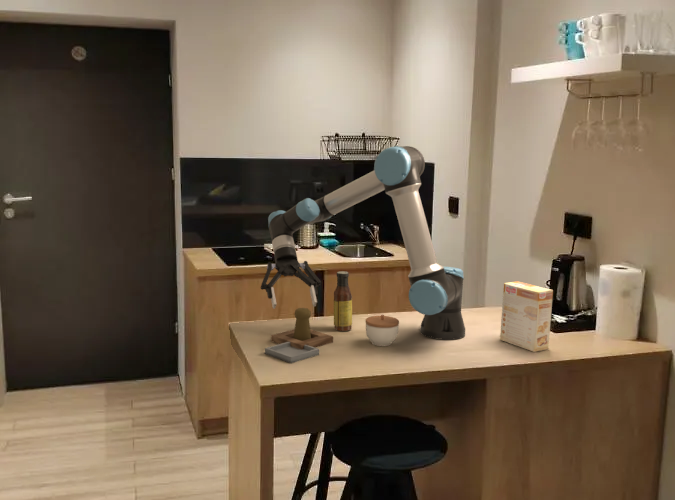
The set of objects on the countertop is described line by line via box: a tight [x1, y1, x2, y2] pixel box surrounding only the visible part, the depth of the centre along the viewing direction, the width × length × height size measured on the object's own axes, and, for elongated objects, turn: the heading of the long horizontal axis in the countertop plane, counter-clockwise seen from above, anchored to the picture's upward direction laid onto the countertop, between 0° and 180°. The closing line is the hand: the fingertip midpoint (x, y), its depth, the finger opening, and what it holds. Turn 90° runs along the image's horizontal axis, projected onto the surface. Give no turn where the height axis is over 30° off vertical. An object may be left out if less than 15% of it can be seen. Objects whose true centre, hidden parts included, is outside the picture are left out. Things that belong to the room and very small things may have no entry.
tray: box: [264, 342, 320, 364], centre depth 214 cm, size 12×12×2 cm
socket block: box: [270, 328, 334, 350], centre depth 226 cm, size 14×14×2 cm
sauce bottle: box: [333, 270, 353, 332], centre depth 240 cm, size 6×6×20 cm
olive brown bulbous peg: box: [293, 307, 312, 341], centre depth 226 cm, size 6×6×11 cm
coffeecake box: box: [499, 281, 554, 353], centre depth 229 cm, size 15×7×20 cm, turn 33°
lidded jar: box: [365, 314, 400, 347], centre depth 227 cm, size 11×11×9 cm
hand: (295, 305), depth 230 cm, fingers open, 13 cm apart
